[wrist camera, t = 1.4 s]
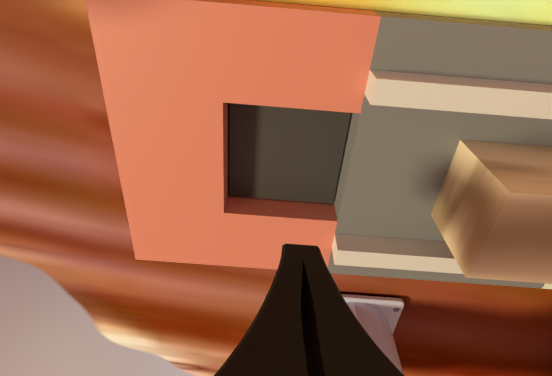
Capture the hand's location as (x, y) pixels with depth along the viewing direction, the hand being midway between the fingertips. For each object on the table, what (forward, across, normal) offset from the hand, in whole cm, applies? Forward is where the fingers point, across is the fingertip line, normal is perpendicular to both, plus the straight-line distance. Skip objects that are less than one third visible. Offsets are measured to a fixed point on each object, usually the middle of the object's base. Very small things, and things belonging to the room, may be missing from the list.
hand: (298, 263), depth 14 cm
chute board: (+9, -11, 0) cm, 14 cm away
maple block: (+7, -11, 0) cm, 13 cm away
